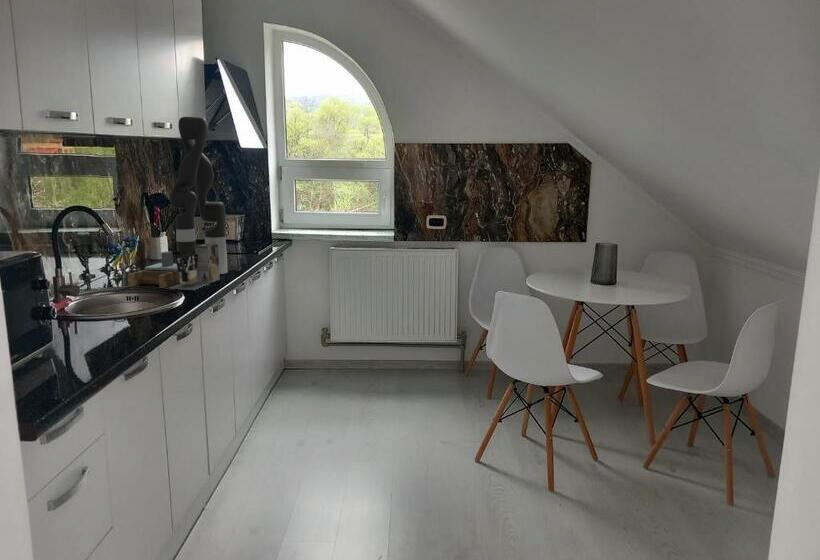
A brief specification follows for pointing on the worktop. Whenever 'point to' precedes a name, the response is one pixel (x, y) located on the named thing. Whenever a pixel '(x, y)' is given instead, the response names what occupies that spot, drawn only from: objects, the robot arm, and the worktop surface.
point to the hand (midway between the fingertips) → (188, 280)
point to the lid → (164, 263)
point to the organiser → (154, 278)
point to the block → (189, 277)
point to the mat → (188, 286)
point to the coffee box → (207, 263)
